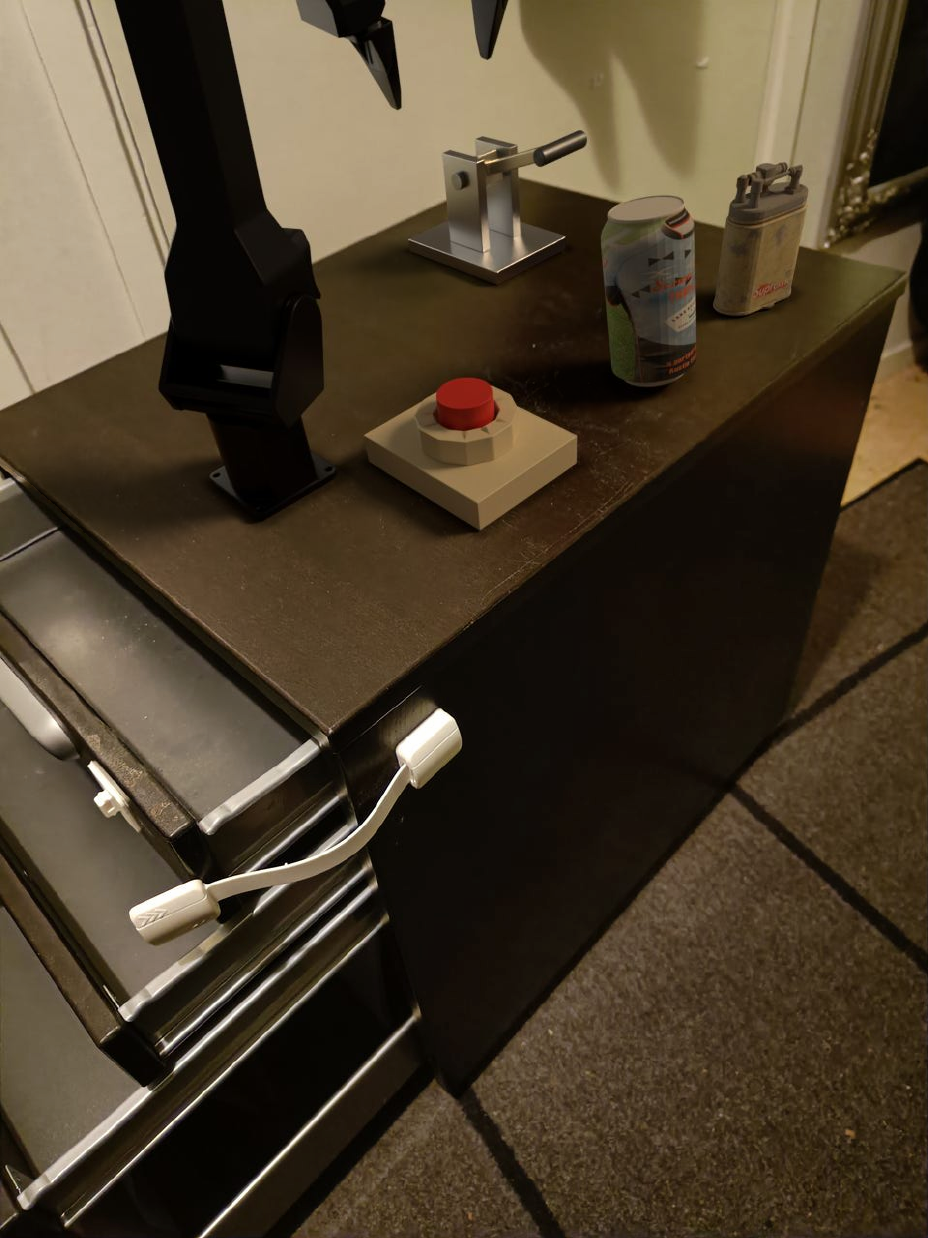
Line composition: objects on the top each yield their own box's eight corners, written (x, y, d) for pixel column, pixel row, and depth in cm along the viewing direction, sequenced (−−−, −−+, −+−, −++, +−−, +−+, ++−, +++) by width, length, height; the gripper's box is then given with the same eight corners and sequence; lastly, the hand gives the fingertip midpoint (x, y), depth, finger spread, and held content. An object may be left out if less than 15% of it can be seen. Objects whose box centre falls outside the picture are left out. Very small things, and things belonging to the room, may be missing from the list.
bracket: (565, 249, 77) (566, 145, 71) (497, 285, 74) (491, 179, 67) (476, 219, 84) (469, 121, 77) (409, 251, 80) (396, 151, 74)
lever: (590, 153, 67) (583, 120, 66) (548, 172, 65) (540, 139, 64) (494, 178, 76) (487, 150, 75) (455, 196, 74) (446, 167, 73)
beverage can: (669, 407, 59) (687, 233, 50) (579, 379, 62) (582, 213, 53) (709, 365, 62) (733, 195, 53) (622, 342, 65) (631, 178, 56)
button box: (577, 463, 55) (577, 411, 52) (479, 531, 51) (475, 479, 48) (463, 404, 61) (458, 355, 58) (368, 461, 57) (358, 411, 54)
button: (506, 414, 53) (504, 390, 52) (465, 439, 52) (463, 415, 51) (467, 394, 55) (465, 371, 54) (427, 418, 54) (424, 395, 52)
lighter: (767, 279, 70) (791, 149, 63) (802, 295, 68) (831, 162, 60) (703, 306, 68) (720, 175, 61) (737, 323, 66) (759, 189, 58)
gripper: (437, -237, 60) (469, 10, 73) (219, -140, 56) (295, 104, 69) (539, -222, 54) (554, 42, 67) (305, -113, 50) (370, 147, 63)
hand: (441, 82), depth 67 cm, fingers open, 9 cm apart
